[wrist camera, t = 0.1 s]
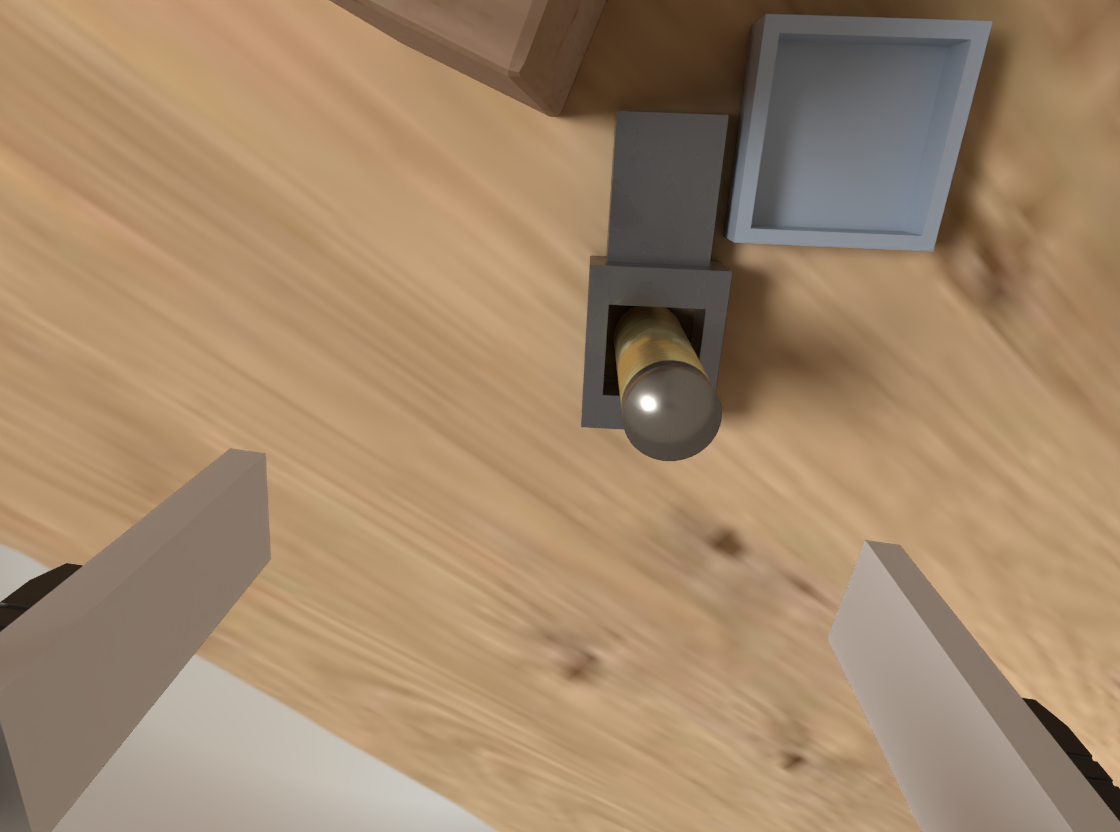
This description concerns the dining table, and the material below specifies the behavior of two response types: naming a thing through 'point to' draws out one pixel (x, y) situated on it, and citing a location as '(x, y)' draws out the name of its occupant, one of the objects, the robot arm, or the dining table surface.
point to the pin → (663, 386)
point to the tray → (851, 129)
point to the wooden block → (495, 40)
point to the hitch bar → (658, 242)
